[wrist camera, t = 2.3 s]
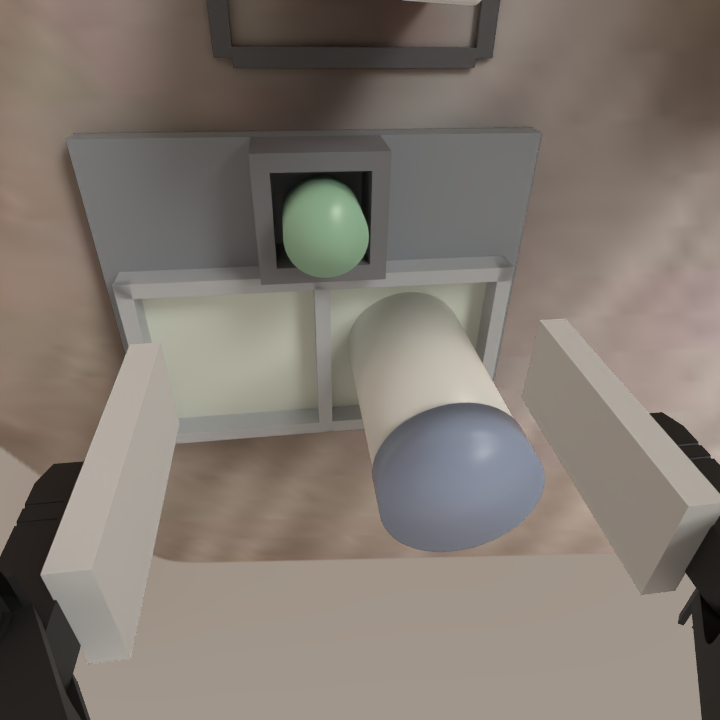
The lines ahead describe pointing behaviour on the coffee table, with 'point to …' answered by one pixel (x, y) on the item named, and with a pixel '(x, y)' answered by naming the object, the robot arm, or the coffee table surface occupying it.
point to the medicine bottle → (451, 2)
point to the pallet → (276, 271)
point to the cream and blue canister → (437, 429)
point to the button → (323, 227)
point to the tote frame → (352, 48)
